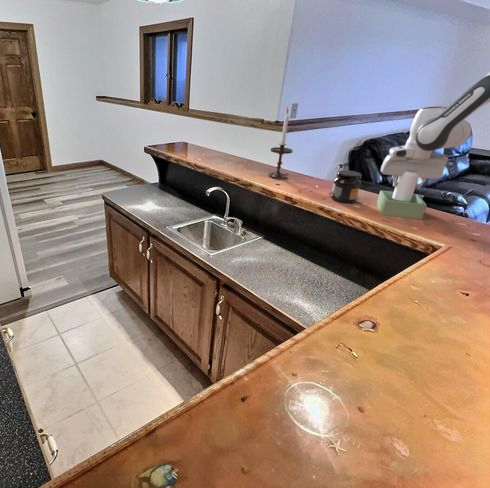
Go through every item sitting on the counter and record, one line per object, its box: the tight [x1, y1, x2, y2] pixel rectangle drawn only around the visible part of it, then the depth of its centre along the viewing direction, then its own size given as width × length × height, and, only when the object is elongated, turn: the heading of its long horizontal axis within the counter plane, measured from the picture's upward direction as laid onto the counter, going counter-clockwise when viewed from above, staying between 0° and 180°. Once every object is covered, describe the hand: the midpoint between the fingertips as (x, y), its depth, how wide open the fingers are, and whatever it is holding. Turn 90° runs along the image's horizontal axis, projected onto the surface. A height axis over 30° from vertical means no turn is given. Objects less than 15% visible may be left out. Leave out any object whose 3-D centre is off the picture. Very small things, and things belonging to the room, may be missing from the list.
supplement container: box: [330, 169, 362, 204], centre depth 152 cm, size 10×10×12 cm
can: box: [392, 171, 420, 202], centre depth 138 cm, size 6×6×12 cm
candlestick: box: [268, 106, 293, 179], centre depth 179 cm, size 11×11×35 cm
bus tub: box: [375, 190, 428, 220], centre depth 141 cm, size 14×14×6 cm
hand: (405, 187), depth 138 cm, fingers closed on can, 6 cm apart
